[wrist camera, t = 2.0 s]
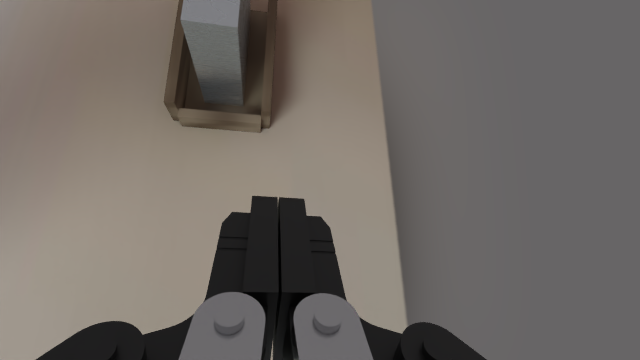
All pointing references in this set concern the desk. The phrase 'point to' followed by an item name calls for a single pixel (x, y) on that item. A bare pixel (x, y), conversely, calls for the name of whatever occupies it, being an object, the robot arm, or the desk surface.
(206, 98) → the grey rectangular block
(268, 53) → the walnut box
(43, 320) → the desk surface
